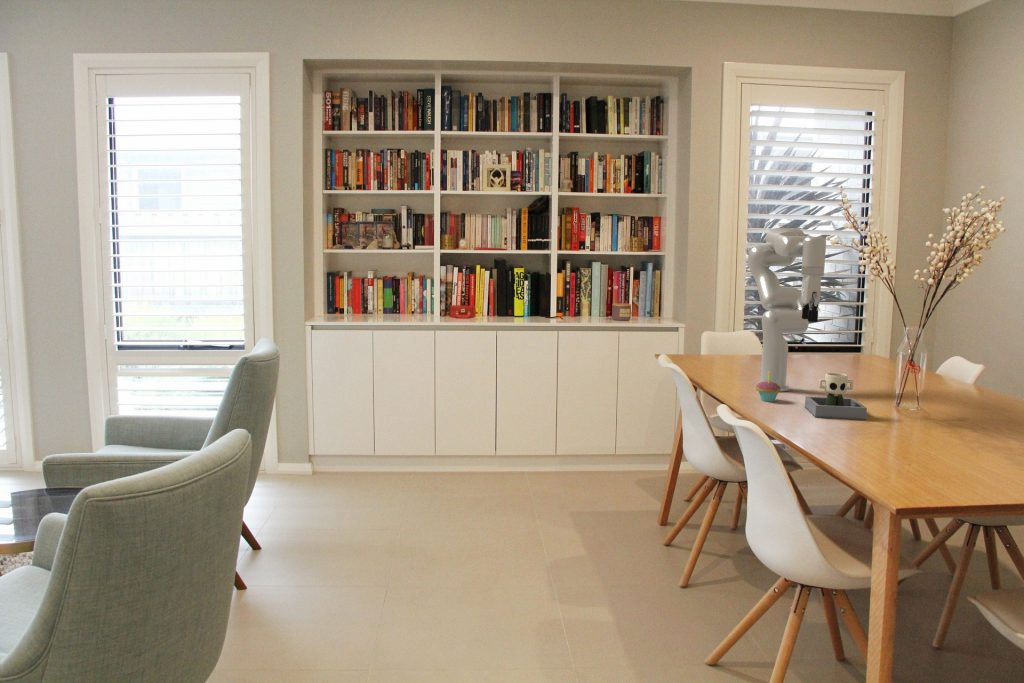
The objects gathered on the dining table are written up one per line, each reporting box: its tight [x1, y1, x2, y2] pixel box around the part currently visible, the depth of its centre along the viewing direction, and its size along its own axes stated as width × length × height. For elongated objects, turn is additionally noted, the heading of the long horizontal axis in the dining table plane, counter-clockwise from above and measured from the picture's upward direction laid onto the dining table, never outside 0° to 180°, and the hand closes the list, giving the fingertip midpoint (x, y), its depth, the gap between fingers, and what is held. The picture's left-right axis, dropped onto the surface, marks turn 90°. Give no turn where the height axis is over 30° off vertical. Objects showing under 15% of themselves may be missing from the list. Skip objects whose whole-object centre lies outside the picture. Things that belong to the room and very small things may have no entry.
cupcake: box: [755, 371, 780, 403], centre depth 286 cm, size 9×8×12 cm
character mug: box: [818, 372, 854, 406], centre depth 265 cm, size 11×7×13 cm, turn 81°
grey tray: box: [804, 395, 868, 421], centre depth 266 cm, size 16×16×4 cm
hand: (809, 320), depth 277 cm, fingers open, 9 cm apart
